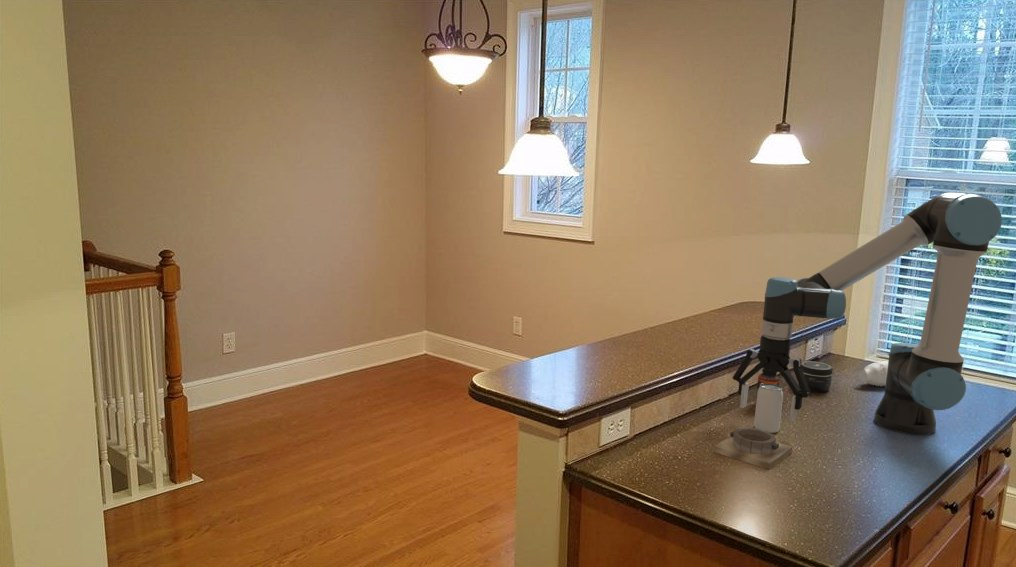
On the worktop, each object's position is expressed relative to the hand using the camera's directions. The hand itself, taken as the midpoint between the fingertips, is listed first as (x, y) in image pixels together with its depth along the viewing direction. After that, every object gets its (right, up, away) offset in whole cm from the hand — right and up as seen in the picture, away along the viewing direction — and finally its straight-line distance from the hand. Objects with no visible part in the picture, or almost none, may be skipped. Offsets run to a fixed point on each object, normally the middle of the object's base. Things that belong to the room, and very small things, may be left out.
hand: (767, 413), depth 197 cm
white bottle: (+54, +1, +43) cm, 69 cm away
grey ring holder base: (-9, -7, -15) cm, 19 cm away
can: (0, -5, +1) cm, 5 cm away
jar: (+28, +1, +38) cm, 47 cm away
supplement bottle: (+7, -1, +20) cm, 21 cm away
